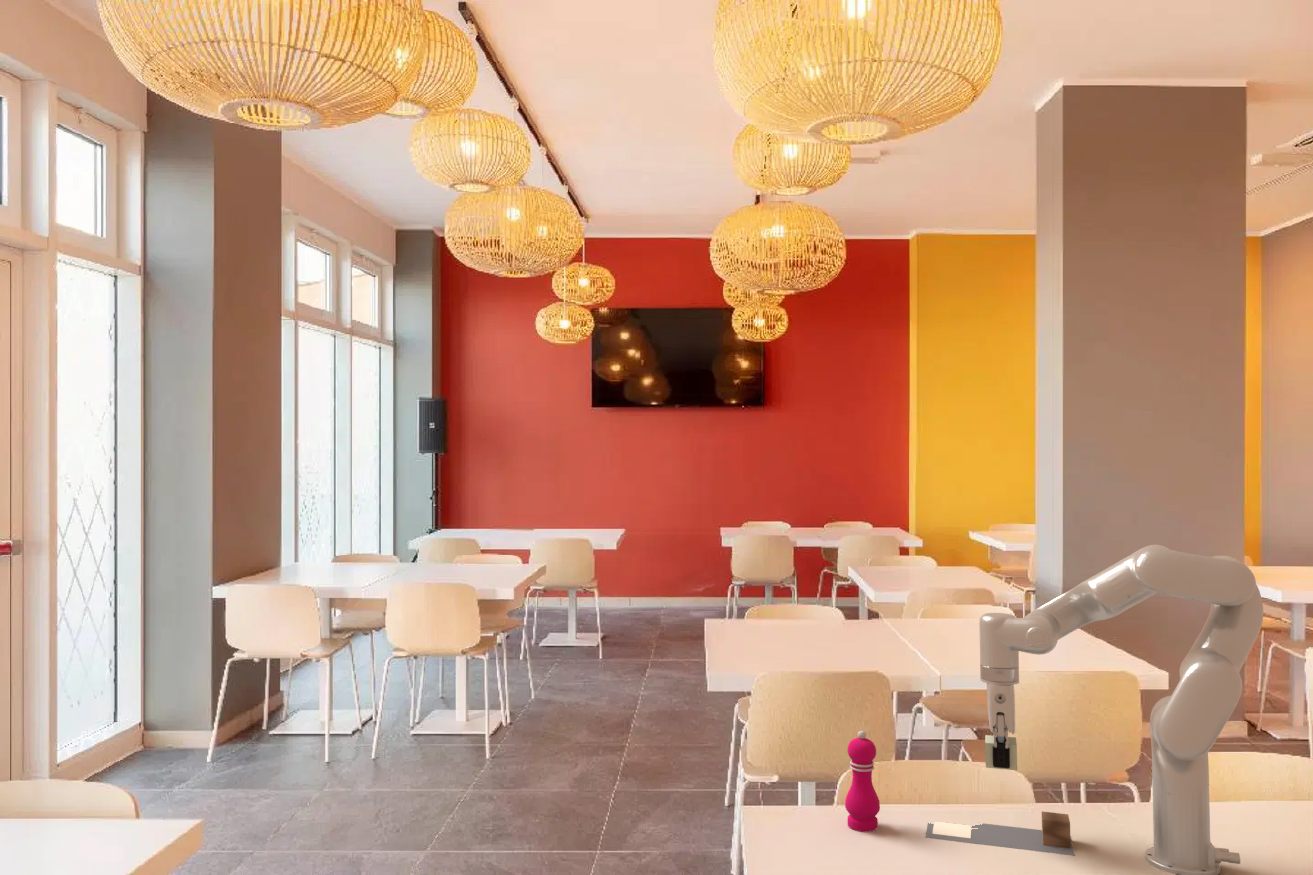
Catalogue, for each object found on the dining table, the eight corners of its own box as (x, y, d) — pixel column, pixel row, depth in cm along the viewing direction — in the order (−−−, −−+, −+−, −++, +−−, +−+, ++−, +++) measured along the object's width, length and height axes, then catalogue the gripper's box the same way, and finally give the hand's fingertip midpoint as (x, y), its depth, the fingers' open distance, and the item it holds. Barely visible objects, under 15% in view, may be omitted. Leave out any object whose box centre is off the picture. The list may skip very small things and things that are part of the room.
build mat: (1069, 835, 195) (1069, 832, 195) (1074, 857, 183) (1074, 854, 183) (928, 818, 204) (928, 816, 204) (925, 839, 193) (925, 836, 193)
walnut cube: (1068, 839, 191) (1068, 814, 192) (1070, 848, 187) (1070, 822, 187) (1042, 835, 193) (1041, 811, 193) (1043, 845, 188) (1042, 819, 189)
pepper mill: (880, 833, 195) (879, 736, 196) (845, 831, 197) (844, 734, 198) (879, 821, 203) (878, 727, 203) (845, 818, 204) (844, 725, 205)
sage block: (1016, 761, 196) (1015, 737, 196) (1017, 770, 190) (1016, 745, 190) (985, 759, 198) (985, 734, 198) (985, 767, 192) (985, 742, 192)
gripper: (1020, 684, 185) (1022, 777, 184) (1017, 667, 201) (1019, 752, 201) (979, 681, 188) (981, 773, 187) (980, 664, 204) (982, 749, 203)
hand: (1001, 761), depth 194 cm, fingers closed on sage block, 6 cm apart
